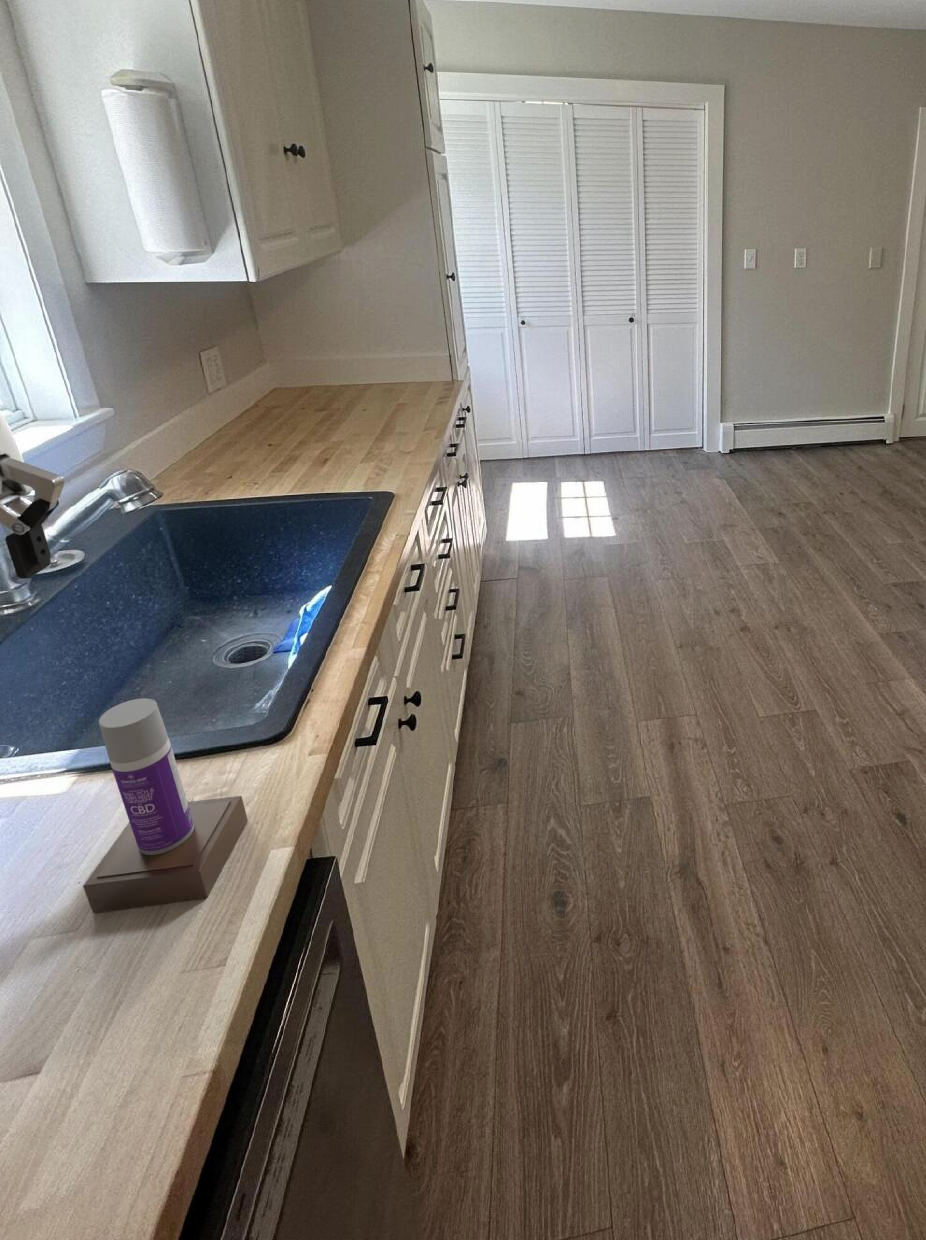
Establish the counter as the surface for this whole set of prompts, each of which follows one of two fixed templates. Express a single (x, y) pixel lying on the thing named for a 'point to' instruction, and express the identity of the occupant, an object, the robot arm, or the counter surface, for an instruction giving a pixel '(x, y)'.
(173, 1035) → the counter surface
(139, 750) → the container
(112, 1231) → the counter surface
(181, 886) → the riser
